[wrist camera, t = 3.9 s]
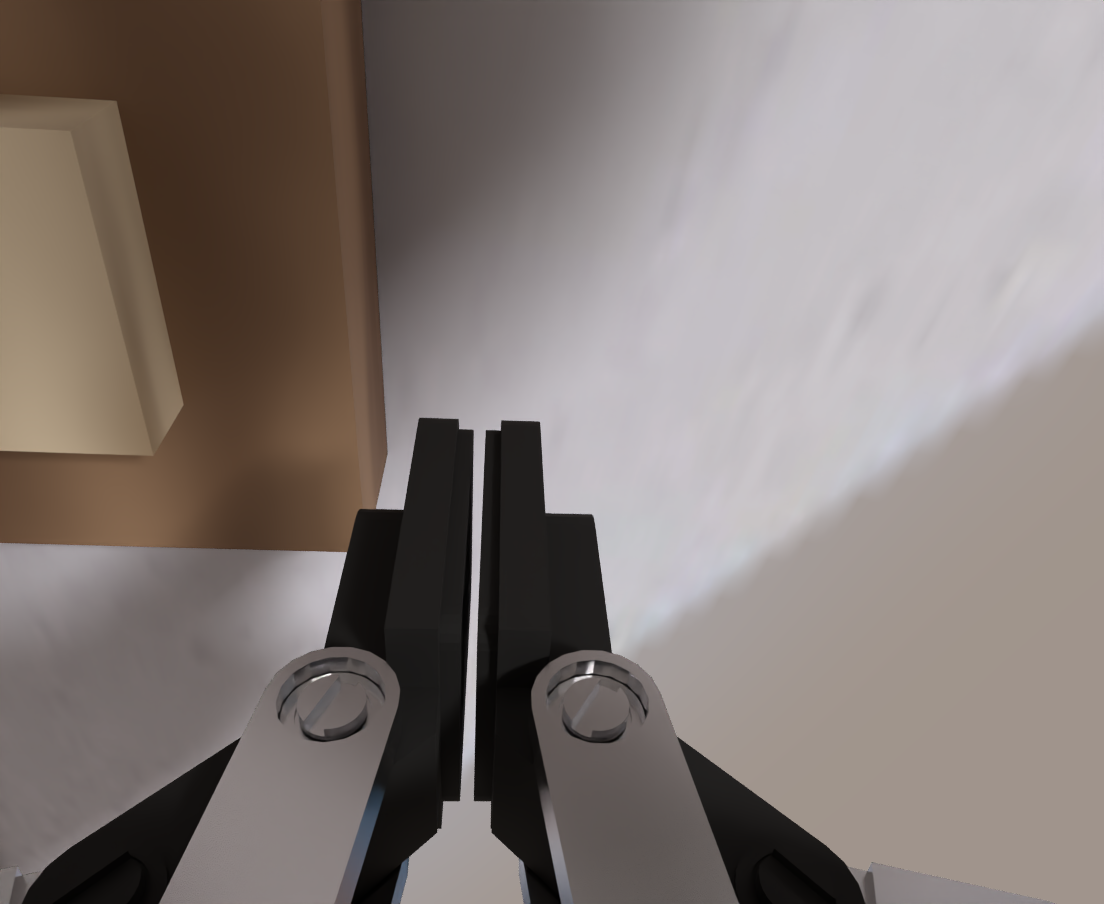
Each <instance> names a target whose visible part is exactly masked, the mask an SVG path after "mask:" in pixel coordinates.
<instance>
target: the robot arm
mask: <svg viewBox="0 0 1104 904" xmlns="http://www.w3.org/2000/svg"><path fill="white" fill-rule="evenodd" d="M473 439H474V431H473V430H463V429H459V420H458V419H440V418H419V421H418V427H417V433H416V439H415V445H414V451H413V457H412V463H411V469H410V475H409V481H408V487H407V493H406V499H405V505H404V510H387V509H359V510H358V512H357V515H356V518H355V522H354V526H353V530H352V534H351V538H350V543H349V547H348V551H347V555H346V559H345V564H344V568H343V572H342V576H341V580H340V585H339V589H338V593H337V597H336V601H335V605H334V610H333V614H332V618H331V622H330V626H329V631H328V635H327V639H326V643H325V647H324V649H320V650H316V651H311V652H309V653H307V654H305V655H303V656H301V657H298V658H296V659H294V660H292V661H291V662H290V663H288V664H287V665H286V666H285V667H283V668H282V669H281V670H280V671H278V672H277V673H276V674H275V676H274V677H273V679H272V680H271V681H270V683H269V684H268V686H267V687H266V688H265V690H264V692H263V694H262V696H261V698H260V701H259V703H258V705H257V707H256V709H255V711H254V713H253V715H252V717H251V719H250V721H249V723H248V725H247V727H246V729H245V731H244V733H243V735H242V737H241V738H239V739H238V740H236V741H234V742H233V743H231V744H230V745H228V746H227V747H225V748H224V749H222V750H221V751H219V752H217V753H216V754H214V755H213V756H211V757H210V758H208V759H207V760H205V761H204V762H202V763H200V764H199V765H197V766H196V767H194V768H193V769H191V770H190V771H188V772H187V773H185V774H183V775H182V776H180V777H179V778H177V779H176V780H174V781H173V782H171V783H170V784H168V785H167V786H165V787H163V788H162V789H160V790H159V791H157V792H156V793H154V794H153V795H151V796H150V797H148V798H146V799H145V800H143V801H142V802H140V803H139V804H137V805H136V806H134V807H133V808H131V809H129V810H128V811H126V812H125V813H123V814H122V815H120V816H119V817H117V818H116V819H114V820H112V821H111V822H109V823H108V824H106V825H105V826H103V827H102V828H100V829H99V830H97V831H95V832H94V833H92V834H91V835H89V836H88V837H86V838H85V839H83V840H82V841H80V842H78V843H77V844H75V845H74V846H72V847H71V848H69V849H68V850H67V851H66V852H64V853H63V854H62V855H61V856H59V857H58V858H57V859H56V860H54V861H53V862H52V863H51V864H49V865H48V866H47V867H46V868H45V869H44V871H40V872H36V873H31V874H26V875H22V873H21V871H20V869H19V868H18V866H14V867H9V868H5V869H0V904H400V902H401V898H402V895H403V891H404V887H405V883H406V879H407V875H408V864H409V856H411V855H412V854H413V853H414V852H415V851H416V850H418V849H419V848H420V847H421V846H422V845H423V844H424V843H426V842H427V841H428V840H429V839H430V838H431V837H433V836H434V835H435V834H436V833H437V829H438V828H439V829H441V825H442V811H443V801H460V791H461V772H462V753H463V734H464V715H465V696H466V678H467V659H468V640H469V621H470V602H471V574H472V507H473ZM474 777H475V778H474V801H491V829H492V833H493V834H494V835H495V836H496V837H497V838H498V839H499V840H500V841H501V842H502V843H503V844H504V845H505V846H506V847H508V848H509V849H510V850H511V851H512V852H513V853H514V854H515V855H516V856H517V857H518V858H519V878H520V884H521V890H522V895H523V902H524V904H1055V903H1052V902H1050V901H1046V900H1041V899H1037V898H1032V897H1027V896H1022V895H1018V894H1014V893H1009V892H1005V891H1000V890H996V889H991V888H987V887H982V886H978V885H973V884H969V883H964V882H960V881H955V880H950V879H946V878H941V877H937V876H932V875H928V874H923V873H919V872H914V871H910V870H905V869H901V868H896V867H892V866H887V865H883V864H878V863H874V862H872V863H871V865H870V867H869V869H868V871H865V870H860V869H856V868H851V867H847V866H846V864H845V863H844V862H843V861H842V860H841V859H840V858H839V857H838V856H837V855H836V854H835V853H833V852H832V851H831V850H830V849H829V848H828V847H827V846H826V845H824V844H823V843H822V842H820V841H819V840H818V839H816V838H815V837H813V836H812V835H810V834H809V833H808V832H806V831H805V830H804V829H802V828H801V827H800V826H798V825H797V824H796V823H794V822H793V821H791V820H790V819H789V818H787V817H786V816H785V815H783V814H782V813H781V812H779V811H778V810H776V809H775V808H774V807H772V806H771V805H770V804H768V803H767V802H766V801H764V800H763V799H762V798H760V797H759V796H757V795H756V794H755V793H753V792H752V791H750V790H749V789H748V788H747V787H745V786H744V785H742V784H741V783H740V782H738V781H737V780H735V779H734V778H733V777H732V776H730V775H729V774H727V773H726V772H725V771H723V770H722V769H721V768H719V767H718V766H717V765H715V764H714V763H712V762H711V761H710V760H708V759H707V758H706V757H704V756H703V755H701V754H700V753H699V752H697V751H696V750H695V749H693V748H692V747H691V746H689V745H688V744H686V743H685V742H684V741H682V740H681V739H680V738H678V737H677V736H676V733H675V730H674V728H673V725H672V723H671V720H670V717H669V714H668V712H667V709H666V706H665V703H664V701H663V698H662V695H661V693H660V691H659V689H658V687H657V686H656V684H655V682H654V680H653V679H652V677H650V675H649V674H648V673H646V672H645V671H644V670H643V669H642V668H641V667H640V666H639V665H638V664H636V663H634V662H632V661H630V660H628V659H627V658H625V657H623V656H621V655H617V654H613V653H612V650H611V643H610V635H609V628H608V620H607V612H606V605H605V597H604V590H603V582H602V574H601V567H600V559H599V552H598V544H597V537H596V529H595V522H594V517H593V516H592V514H551V513H545V500H544V483H543V465H542V447H541V430H540V422H534V421H503V420H501V431H496V430H486V439H485V463H484V487H483V511H482V535H481V559H480V583H479V607H478V636H477V680H476V727H475V776H474Z"/></svg>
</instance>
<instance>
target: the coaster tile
mask: <svg viewBox="0 0 1104 904" xmlns="http://www.w3.org/2000/svg"><path fill="white" fill-rule="evenodd" d="M183 405H184V404H183V399H182V395H181V390H180V386H179V381H178V377H177V372H176V368H175V363H174V359H173V354H172V350H171V345H170V341H169V336H168V332H167V327H166V323H165V318H164V314H163V309H162V304H161V300H160V295H159V291H158V286H157V282H156V277H155V273H154V268H153V264H152V259H151V255H150V250H149V246H148V241H147V237H146V232H145V228H144V223H143V219H142V214H141V209H140V205H139V200H138V196H137V191H136V187H135V182H134V178H133V173H132V169H131V164H130V160H129V155H128V151H127V146H126V142H125V137H124V133H123V128H122V124H121V119H120V114H119V110H118V105H117V101H111V100H94V99H77V98H60V97H43V96H26V95H9V94H0V451H23V452H53V453H83V454H113V455H143V456H154V454H155V452H156V451H157V449H158V447H159V446H160V444H161V442H162V441H163V439H164V437H165V436H166V434H167V432H168V430H169V429H170V427H171V425H172V424H173V422H174V420H175V419H176V417H177V415H178V413H179V412H180V410H181V408H182V407H183Z"/></svg>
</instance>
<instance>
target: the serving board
mask: <svg viewBox="0 0 1104 904" xmlns="http://www.w3.org/2000/svg"><path fill="white" fill-rule="evenodd" d="M0 94H9V95H26V96H43V97H60V98H77V99H94V100H111V101H117V105H118V110H119V114H120V119H121V124H122V128H123V133H124V137H125V142H126V146H127V151H128V155H129V160H130V164H131V169H132V173H133V178H134V182H135V187H136V191H137V196H138V200H139V205H140V209H141V214H142V219H143V223H144V228H145V232H146V237H147V241H148V246H149V250H150V255H151V259H152V264H153V268H154V273H155V277H156V282H157V286H158V291H159V295H160V300H161V304H162V309H163V314H164V318H165V323H166V327H167V332H168V336H169V341H170V345H171V350H172V354H173V359H174V363H175V368H176V372H177V377H178V381H179V386H180V390H181V395H182V399H183V404H184V405H183V407H182V408H181V410H180V412H179V413H178V415H177V417H176V419H175V420H174V422H173V424H172V425H171V427H170V429H169V430H168V432H167V434H166V436H165V437H164V439H163V441H162V442H161V444H160V446H159V447H158V449H157V451H156V452H155V454H154V456H143V455H113V454H83V453H53V452H23V451H0V543H28V544H66V545H103V546H140V547H178V548H215V549H253V550H290V551H327V552H347V551H348V547H349V543H350V538H351V534H352V530H353V526H354V522H355V518H356V515H357V512H358V510H359V509H376V505H377V500H378V496H379V491H380V486H381V482H382V477H383V472H384V468H385V463H386V458H387V437H386V420H385V403H384V386H383V369H382V352H381V335H380V318H379V300H378V283H377V266H376V249H375V232H374V215H373V198H372V181H371V164H370V147H369V130H368V113H367V96H366V79H365V62H364V44H363V27H362V10H361V0H0Z"/></svg>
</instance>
